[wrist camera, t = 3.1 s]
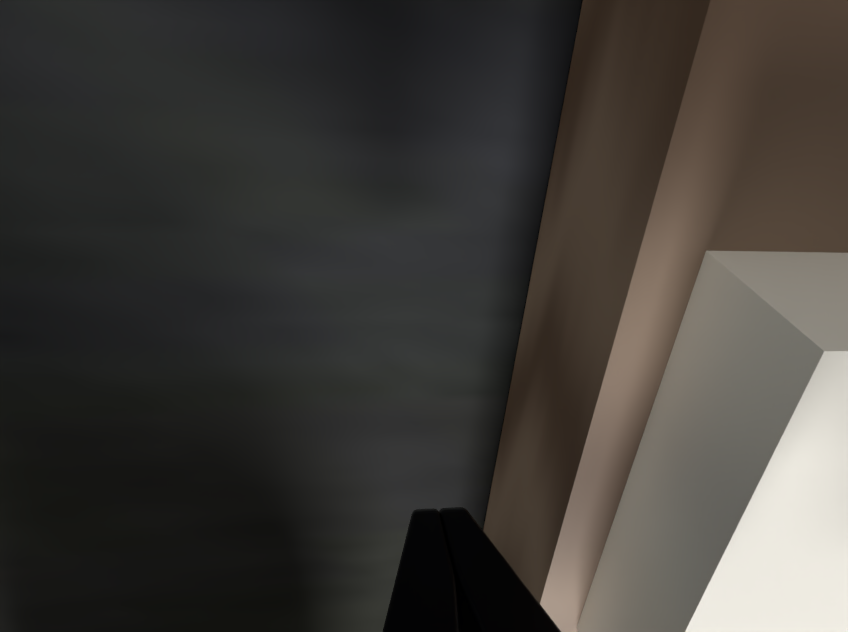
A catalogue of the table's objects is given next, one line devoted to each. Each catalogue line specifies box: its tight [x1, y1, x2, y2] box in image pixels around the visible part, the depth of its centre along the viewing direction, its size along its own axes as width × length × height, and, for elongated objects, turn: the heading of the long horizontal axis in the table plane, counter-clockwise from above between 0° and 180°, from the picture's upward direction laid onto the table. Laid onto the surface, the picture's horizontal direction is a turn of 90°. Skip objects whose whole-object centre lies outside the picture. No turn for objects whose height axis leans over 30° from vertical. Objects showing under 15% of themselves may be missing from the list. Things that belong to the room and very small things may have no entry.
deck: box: [483, 0, 848, 632], centre depth 14 cm, size 20×12×4 cm, turn 175°
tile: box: [577, 251, 848, 632], centre depth 11 cm, size 9×6×2 cm, turn 175°
